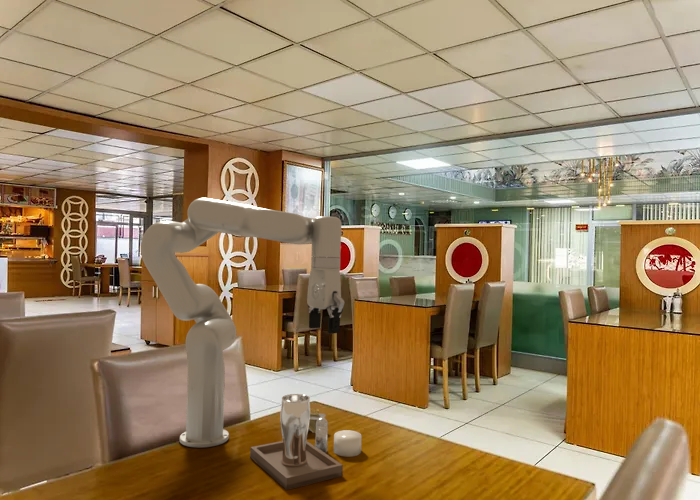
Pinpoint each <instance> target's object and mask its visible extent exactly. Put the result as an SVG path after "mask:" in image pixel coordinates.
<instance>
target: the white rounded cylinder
mask: <svg viewBox="0 0 700 500" xmlns="http://www.w3.org/2000/svg"><path fill="white" fill-rule="evenodd" d="M362 437H363V435H362V434H361V433H360V432H359V431H356V430H352V429H351V430H349V429H348V430H347V429H343V430H339V431H336V432H335V433H334V434H333V453H334V454H335V455H337V456H340V457H347V458H349V457H356V456H359V455H360V454H361V453H362Z"/></svg>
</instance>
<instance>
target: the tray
mask: <svg viewBox="0 0 700 500" xmlns="http://www.w3.org/2000/svg"><path fill="white" fill-rule="evenodd" d="M305 450H306V457H307V462H306V463H305V464H304V465H301V466H296V467H291V466H286V465H283V464H282V463H281V458H282V453H283V440H281V441H276V442H271V443H264V444H260V445H254V446H251V447H250V455H249V458H250V459H251V460H252V461H253V462H255V463H256V464H257V465H258V466H259V467H260V468H261V469H263V471H265V472H266V473H267V474H268V475H269V476H270V477H271V478H272V479H274V480H275V481H276V482H277V483H278V484H279V485H280V486H281V487H282V488H283V489H284V490H285V491H288V490H292V489H297V488H301V487H304V486H308V485H312V484H316V483H320V482H324V481H329V480H333V479H336V478H340V477H343V472H344V470H343V469H344V465H343V464H342V463H341V462H339V461H338V460H336V459H335V458H333V457H331V456H330V455H329V454H327V452H326V453H324V452H323V451H321V450H320V449H318V448H317V447H315V444H314V445H313V444H312V443H311V442H309V441H308V440H306V448H305Z"/></svg>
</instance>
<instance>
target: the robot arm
mask: <svg viewBox="0 0 700 500" xmlns="http://www.w3.org/2000/svg"><path fill="white" fill-rule="evenodd" d="M186 213H187V218H186V219H185V220H184V221H182V222H179V221H174V220H173V221H172V220H161V221H157V222H154V223H153V224H151V225H150V226H149V227H148V228H147V229H146V230H145V232H144V233H143V236H142V239H141V242H140V255H141V259H142V261H143V263H144V264H143V265H144V266H145V267H146V269H147V271H148V273H149V274H150V276H151V277H152V279H153V281H154V282H155V284H156V286H157V288H158V290H159V291H160V294H161V295H162V296H163V298H164V300H165V302H166V303H167V305H168V308H169V309H170V311H171V312H172V314H173V315H174V317H175V318H177V320H180V321H182V322H183V321H184V322H185V321H186V322H188V321H193V320H194V322H195V324H193V325H192V326H191V328H190V329H189V330H188V331H187V334H186V337H185V352H186V361H187V378H186V379H187V387H186V388H187V390H186V395H187V396H186V416H185V417H186V418H185V419H186V420H185V422H186V423H185V424H186V425H185V431H184V432H182V433H181V434H180V435H179V443H180V444H181V445H183V446H185V447H189V448H196V449H197V448H202V449H203V448H211V447H215V446H219V445H222V444H224V443H226V442H227V441H228V440H229V438H230V437H229V436H230V433H229V431H228V430H226V429H224V418H225V417H224V415H225V414H224V411H225V384H226V383H225V377H226V376H225V374H226V373H225V371H226V370H225V361H224V354H223V353H224V352H223V351H225V350H226V349H228V348H230V347H231V346H232V345H233V344H234V342H235V341H236V339H237V327H236V325H235V323H234V321H233V319H232V317H231V316H230V314H229V311H227V309H226V306H225V305H224V304H223V302H222V300H221V299H220V297H219V295H218V294H217V293H216V291H215V290H214V289H213V288H212V287H210V286H208V285H207V284H204V283H195V281H194V280H193V278H192V277H191V276H190V274H189V272H188V270H187V268H186V267H185V266H184V264H183V263H182V261H180V260H179V259H178V257H177V256H176V254H177V253H178V254H184V253H188V252H191V251H193V250H194V249H196V248H198V247H199V246H201V245H203V244H204V243H205V242H207V241H209V240H210V239H211V238H213V237H214V236H217V234H218V233H222V234H226V235H227V234H228V235H233V236H238V237H243V238H244V237H245V238H258V239H265V240H270V241H275V242H280V243H281V242H282V243H285V244H286V243H287V244H292V245H293V244H294V245H305V244H311V261H310V272H309V278H308V283H307V295H306V301H307V302H306V303H307V307H308V313H309V314H308V315H309V316H308V317H309V318H308V328H309V329H320V328H321V321H322V319H321V317H322V316H321V315H322V314H321V312H320V311H321V310H327V313H328V315H329V317H327V334H339V333H340V332H341V330H340V329H341V318H342V313H343V311H344V306H345V300H344V298H343V297H342V288H341V287H342V283H341V271H340V270H341V246H342V245H341V244H342V241H341V240H342V221H341V219H340V218H339V217H337V216H331V215H330V216H327V215H326V216H325V215H323V216H322V215H320V216H315V217H314V218H313V217H307V216H303V215H301V214H297V213H294V212H293V213H292V212H288V211H281V210H274V209H268V208H263V207H257V206H255V205H251V204H245V203H241V202H240V203H239V202H234V201H226V200H220V199H215V198H211V197H210V198H208V197H200V198H196V199H194V200H193V201H192V202H190V204H189V206H188V208H187V211H186Z"/></svg>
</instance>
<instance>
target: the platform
mask: <svg viewBox="0 0 700 500" xmlns="http://www.w3.org/2000/svg"><path fill="white" fill-rule="evenodd" d="M319 410H320V409H318V408H315V409H314V408H310V423H309V429H308V432H309V431H310V432H312V434H313V433H315V434H316V421H317V420H318V419H319V418H325V417H326V413H319Z"/></svg>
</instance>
